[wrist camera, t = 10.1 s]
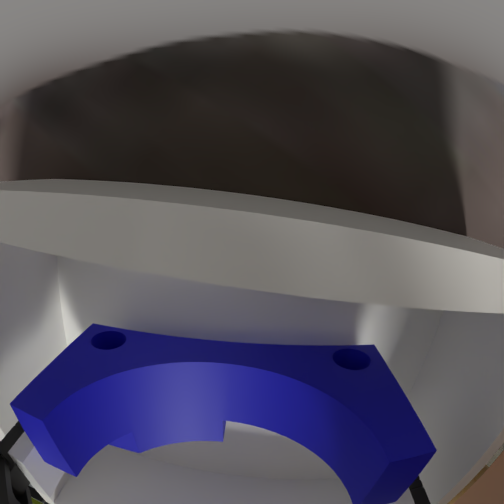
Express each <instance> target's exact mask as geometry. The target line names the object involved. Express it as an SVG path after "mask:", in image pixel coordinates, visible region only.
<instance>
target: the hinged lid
mask: <svg viewBox="0 0 504 504" xmlns="http://www.w3.org/2000/svg"><path fill="white" fill-rule="evenodd" d="M453 504H504V450H503V452H502V453H501V454H500V455H499V457H498V458H497V459H496V460H495V461H494V462H493V464H492V465H491V466H490V467H489V468H488V469H487V470H486V471H485V473H484V474H483V475H482V476H481V477H480V478H479V479H478V480H477V481H476V482H475V483H474V484H473V485H472V486H471V487H470V488H469V489H468V490H467V491H466V492H465V493H464V494H463V495H462V496H461V497H460V498H459V499H457V500H456V501H455V502H454V503H453Z"/></svg>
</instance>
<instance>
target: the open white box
mask: <svg viewBox="0 0 504 504" xmlns="http://www.w3.org/2000/svg"><path fill="white" fill-rule="evenodd" d="M93 323H94V324H99V325H105V326H110V327H116V328H122V329H128V330H134V331H140V332H147V333H154V334H161V335H169V336H177V337H186V338H195V339H205V340H216V341H228V342H241V343H257V344H279V345H373V344H374V345H375V346H376V348H377V350H378V351H379V353H380V354H381V356H382V357H383V359H384V361H385V362H386V364H387V365H388V367H389V369H390V370H391V372H392V374H393V375H394V377H395V378H396V380H397V382H398V383H399V385H400V387H401V388H402V390H403V392H404V393H405V395H406V397H407V398H408V400H409V402H410V403H411V405H412V407H413V409H414V410H415V412H416V414H417V415H418V417H419V419H420V421H421V422H422V424H423V426H424V428H425V430H426V431H427V433H428V435H429V437H430V438H431V440H432V442H433V444H434V446H435V448H436V449H437V451H436V453H435V454H434V455H433V457H432V458H431V460H430V461H429V462H428V464H427V465H426V466H425V468H424V469H423V470H422V472H421V473H420V474H419V477H420V480H421V482H422V484H423V487H424V489H425V491H426V494H427V496H428V498H429V501H430V503H431V504H447V503H448V502H450V501H451V500H452V499H453V498H454V497H455V496H456V495H457V494H458V493H459V492H460V491H461V490H462V489H463V488H464V487H465V486H466V485H467V484H468V483H469V482H470V481H471V480H472V479H473V478H474V477H475V476H476V475H477V474H478V473H479V472H480V471H481V470H482V468H483V467H484V466H485V465H486V464H487V463H488V462H489V460H490V459H491V458H492V457H493V456H494V454H495V453H496V452H497V451H498V449H499V448H500V447H501V446H502V444H503V443H504V249H503V248H500V247H497V246H494V245H491V244H489V243H486V242H483V241H480V240H477V239H474V238H470V237H467V236H464V235H460V234H456V233H452V232H448V231H444V230H439V229H435V228H431V227H427V226H422V225H418V224H414V223H409V222H404V221H400V220H395V219H390V218H386V217H381V216H376V215H371V214H366V213H360V212H355V211H350V210H344V209H339V208H333V207H327V206H322V205H316V204H310V203H303V202H297V201H291V200H284V199H277V198H271V197H263V196H256V195H249V194H241V193H233V192H225V191H217V190H208V189H199V188H189V187H179V186H168V185H157V184H144V183H131V182H116V181H98V180H76V179H37V180H19V181H4V182H0V441H1V440H2V439H3V438H4V437H5V436H6V434H7V433H8V432H9V431H10V430H11V429H12V427H13V426H15V424H16V423H17V422H18V419H17V417H16V415H15V413H14V411H13V409H12V408H11V406H10V403H11V402H12V401H13V400H14V399H15V397H16V396H17V395H18V394H19V393H20V392H21V391H22V390H23V389H24V388H25V387H26V386H27V385H28V384H29V383H30V382H31V381H32V380H33V379H34V378H35V377H36V376H37V375H38V374H39V373H40V372H41V371H42V370H43V369H45V368H46V367H47V366H48V365H49V364H50V363H51V362H52V361H53V360H54V359H55V358H56V357H57V356H58V355H59V354H60V353H61V352H62V351H63V350H64V349H65V348H67V347H68V346H69V345H70V344H71V343H72V342H73V341H74V340H75V339H76V338H77V337H78V336H79V335H81V334H82V333H83V332H84V331H85V330H86V329H87V328H88V327H89V326H90V325H92V324H93ZM31 485H32V484H31ZM36 491H37V490H36ZM37 492H38V493H39V494H40V495H41V496H42V498H43V499H44V500H45V501H46V502H47V503H49V504H352V501H351V498H350V496H349V494H348V491H347V489H346V488H345V486H344V484H343V483H342V481H341V480H340V478H339V477H338V476H337V475H336V473H335V472H334V471H333V470H332V469H331V468H330V467H329V466H328V465H327V464H326V463H325V462H324V461H323V460H322V459H321V458H320V457H318V456H317V455H316V454H314V453H313V452H312V451H310V450H309V449H307V448H306V447H304V446H302V445H301V444H299V443H297V442H295V441H293V440H291V439H289V438H287V437H285V436H283V435H280V434H278V433H275V432H272V431H269V430H266V429H263V428H260V427H256V426H252V425H248V424H243V423H237V422H231V421H226V426H225V433H224V439H223V442H218V441H191V442H181V443H174V444H169V445H164V446H160V447H156V448H153V449H150V450H147V451H144V452H142V453H137V452H133V451H129V450H125V449H122V448H119V447H115V446H112V445H109V444H108V445H107V446H105V447H104V448H103V449H101V450H100V451H99V452H98V453H96V454H95V455H94V456H93V457H92V458H91V459H90V460H89V461H88V462H87V464H86V465H85V466H84V467H83V468H82V470H81V472H80V473H79V475H78V476H77V477H75V476H73V475H70V474H68V473H66V472H65V473H64V475H63V476H62V478H61V480H60V481H59V483H58V485H57V487H56V488H55V490H54V492H53V494H52V495H51V497H50V498H49V497H48V496H46V495H44V494H42V493H41V492H39V491H37Z"/></svg>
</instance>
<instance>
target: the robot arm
mask: <svg viewBox="0 0 504 504" xmlns="http://www.w3.org/2000/svg"><path fill="white" fill-rule="evenodd" d="M64 473H65V472H64V471H62V470H60V469H58V468H56V467H54V466H52V465H50V464H48V463H46V462H44V460H43V459H42V457H41V456H40V454H39V453H38V451H37V450H36V448H35V446H34V445H33V444H32V442H31V441H30V439H29V437H28V436H27V434H26V433H25V431H24V429H23V427H22V426H21V424H20V422H19V420H18V422H17V423H16V424H15V426H13V427H12V429H11V430H10V431H9V432H8V433H7V434H6V436H5V437H4V438H3V439H2V440H1V442H0V504H32V499H31V494H30V490H29V488H28V486H29V484H30V483H31V484H32V486H33V487H34V488H35V489H36V490H37V491H39V492H41V493H42V494H44V495H46V496H48V497H49V498H50V497H51V495H52V494H53V492H54V490H55V488H56V487H57V485H58V483H59V481H60V480H61V478H62V476H63V475H64ZM389 504H431V503H430V501H429V498H428V496H427V494H426V491H425V489H424V487H423V484H422V482H421V480H420V477H419V475H418V477H417V478H416V479H415V480H414V482H413V483H412V484H411V485H410V486H409V488H408V489H407V490H406V491H405V492H404V493H403V495H402V496H401V497H400V498H399V499H398V500H397V501H396V502H393V503H389Z"/></svg>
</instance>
